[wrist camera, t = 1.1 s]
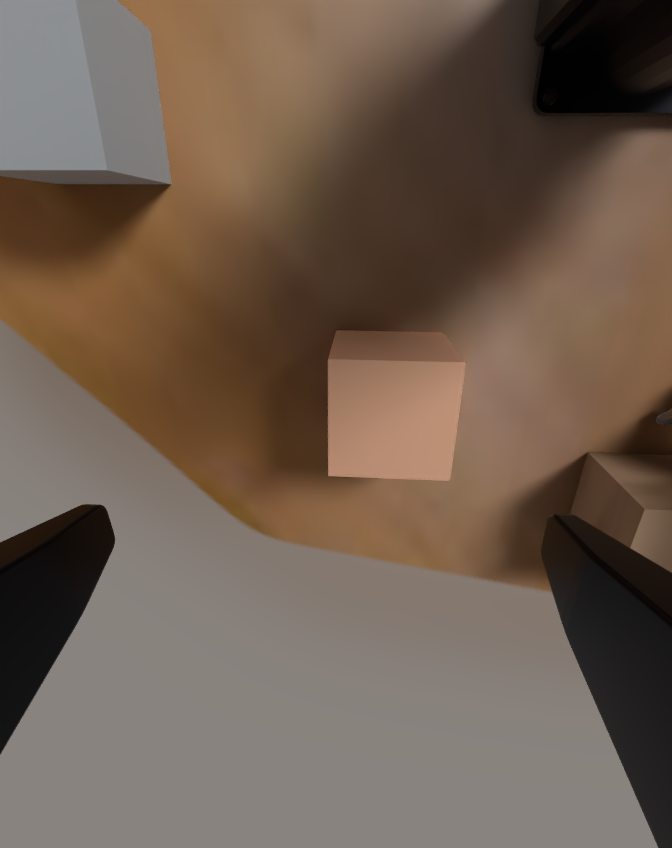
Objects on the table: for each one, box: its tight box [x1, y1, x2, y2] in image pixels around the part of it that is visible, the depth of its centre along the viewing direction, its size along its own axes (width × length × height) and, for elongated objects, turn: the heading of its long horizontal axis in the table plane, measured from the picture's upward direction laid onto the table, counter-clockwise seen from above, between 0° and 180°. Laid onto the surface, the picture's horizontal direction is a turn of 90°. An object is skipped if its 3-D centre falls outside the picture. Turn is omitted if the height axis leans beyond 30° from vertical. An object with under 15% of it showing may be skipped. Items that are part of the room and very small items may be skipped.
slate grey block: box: [0, 0, 171, 184], centre depth 15 cm, size 5×5×5 cm
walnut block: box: [570, 452, 672, 573], centre depth 21 cm, size 5×5×5 cm
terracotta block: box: [328, 330, 466, 481], centre depth 19 cm, size 5×5×5 cm
